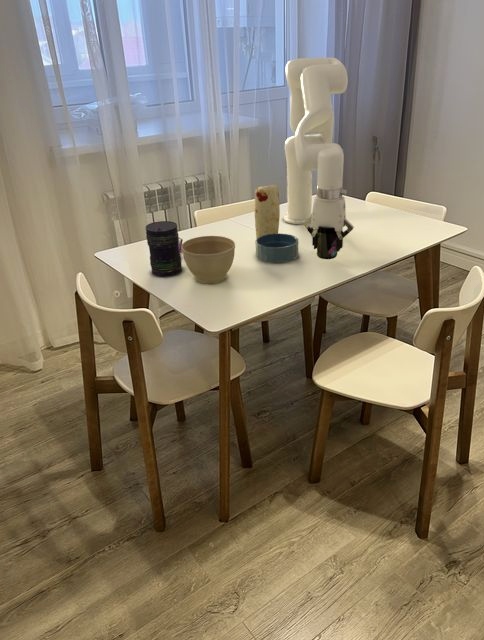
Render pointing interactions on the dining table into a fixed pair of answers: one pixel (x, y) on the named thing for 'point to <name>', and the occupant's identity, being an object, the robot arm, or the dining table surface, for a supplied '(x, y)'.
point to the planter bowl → (209, 257)
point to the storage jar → (164, 248)
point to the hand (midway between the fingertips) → (327, 248)
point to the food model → (267, 210)
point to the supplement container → (326, 242)
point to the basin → (277, 247)
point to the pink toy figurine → (180, 244)
